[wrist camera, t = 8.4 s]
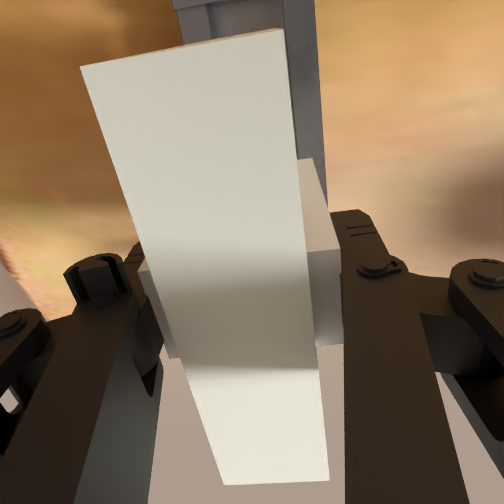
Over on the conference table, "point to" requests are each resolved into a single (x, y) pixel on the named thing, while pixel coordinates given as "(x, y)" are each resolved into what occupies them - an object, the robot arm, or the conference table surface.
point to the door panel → (224, 240)
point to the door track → (297, 55)
